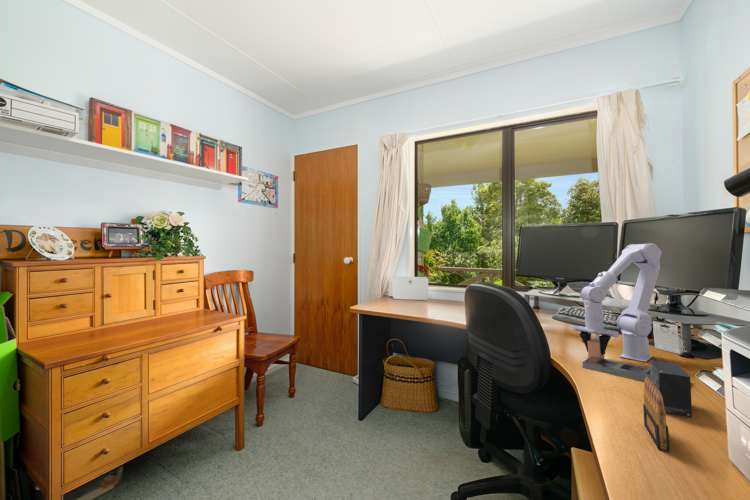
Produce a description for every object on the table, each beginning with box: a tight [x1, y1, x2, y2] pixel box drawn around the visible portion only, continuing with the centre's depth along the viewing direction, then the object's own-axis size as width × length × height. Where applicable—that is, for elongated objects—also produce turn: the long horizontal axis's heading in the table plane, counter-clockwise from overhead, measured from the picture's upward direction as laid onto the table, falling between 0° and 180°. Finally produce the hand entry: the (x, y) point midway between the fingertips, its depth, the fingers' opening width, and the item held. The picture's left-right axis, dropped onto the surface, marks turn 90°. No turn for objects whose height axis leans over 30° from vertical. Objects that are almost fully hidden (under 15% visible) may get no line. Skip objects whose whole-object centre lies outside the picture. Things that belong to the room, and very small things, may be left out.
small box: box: [649, 359, 693, 419], centre depth 82 cm, size 11×6×10 cm, turn 148°
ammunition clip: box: [642, 376, 671, 453], centre depth 69 cm, size 11×2×12 cm, turn 151°
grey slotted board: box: [581, 356, 651, 383], centre depth 104 cm, size 9×26×2 cm, turn 37°
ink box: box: [652, 320, 685, 355], centre depth 126 cm, size 3×9×12 cm, turn 13°
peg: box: [587, 338, 605, 359], centre depth 120 cm, size 4×4×7 cm
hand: (596, 352), depth 120 cm, fingers closed on peg, 4 cm apart
